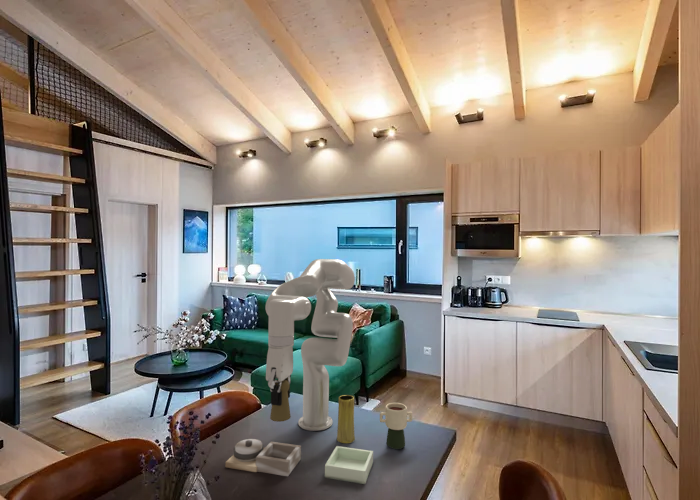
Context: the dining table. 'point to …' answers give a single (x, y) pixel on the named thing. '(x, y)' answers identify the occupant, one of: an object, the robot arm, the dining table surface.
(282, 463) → the desk organizer
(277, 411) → the cork
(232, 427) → the dining table surface
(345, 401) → the vase
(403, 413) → the cream green cup
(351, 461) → the tray
